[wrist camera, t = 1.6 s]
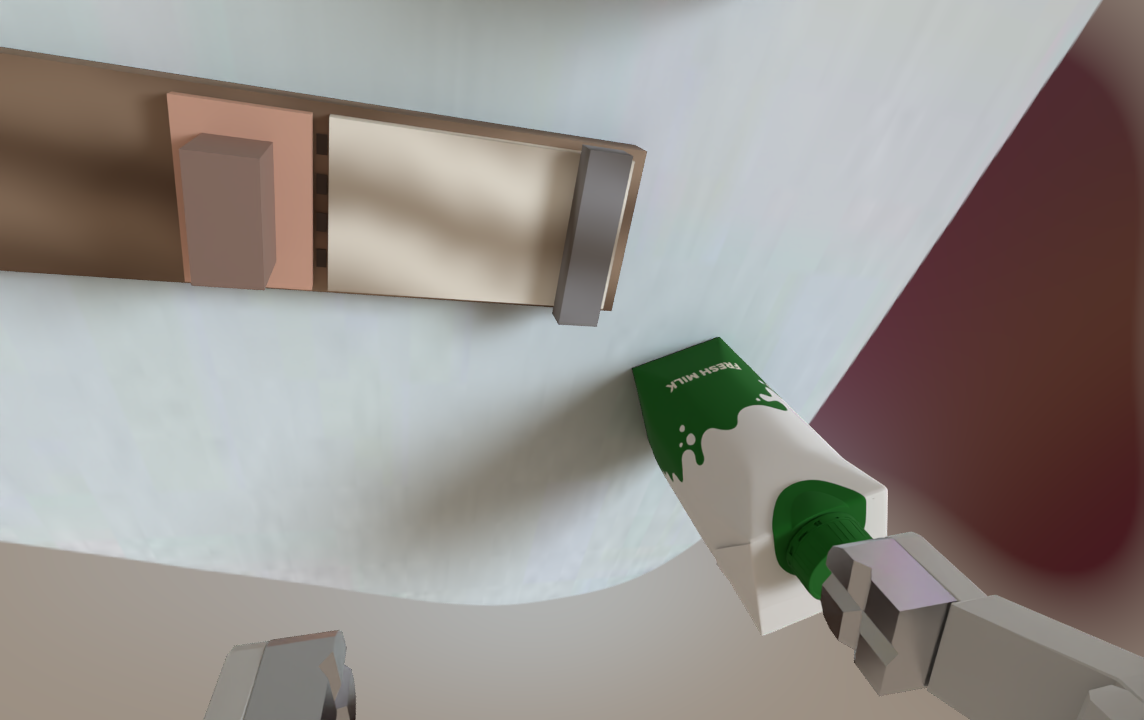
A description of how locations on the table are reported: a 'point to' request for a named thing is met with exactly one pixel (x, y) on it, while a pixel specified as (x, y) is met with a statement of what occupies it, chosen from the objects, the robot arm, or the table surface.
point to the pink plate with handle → (243, 192)
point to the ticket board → (316, 191)
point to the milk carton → (755, 480)
